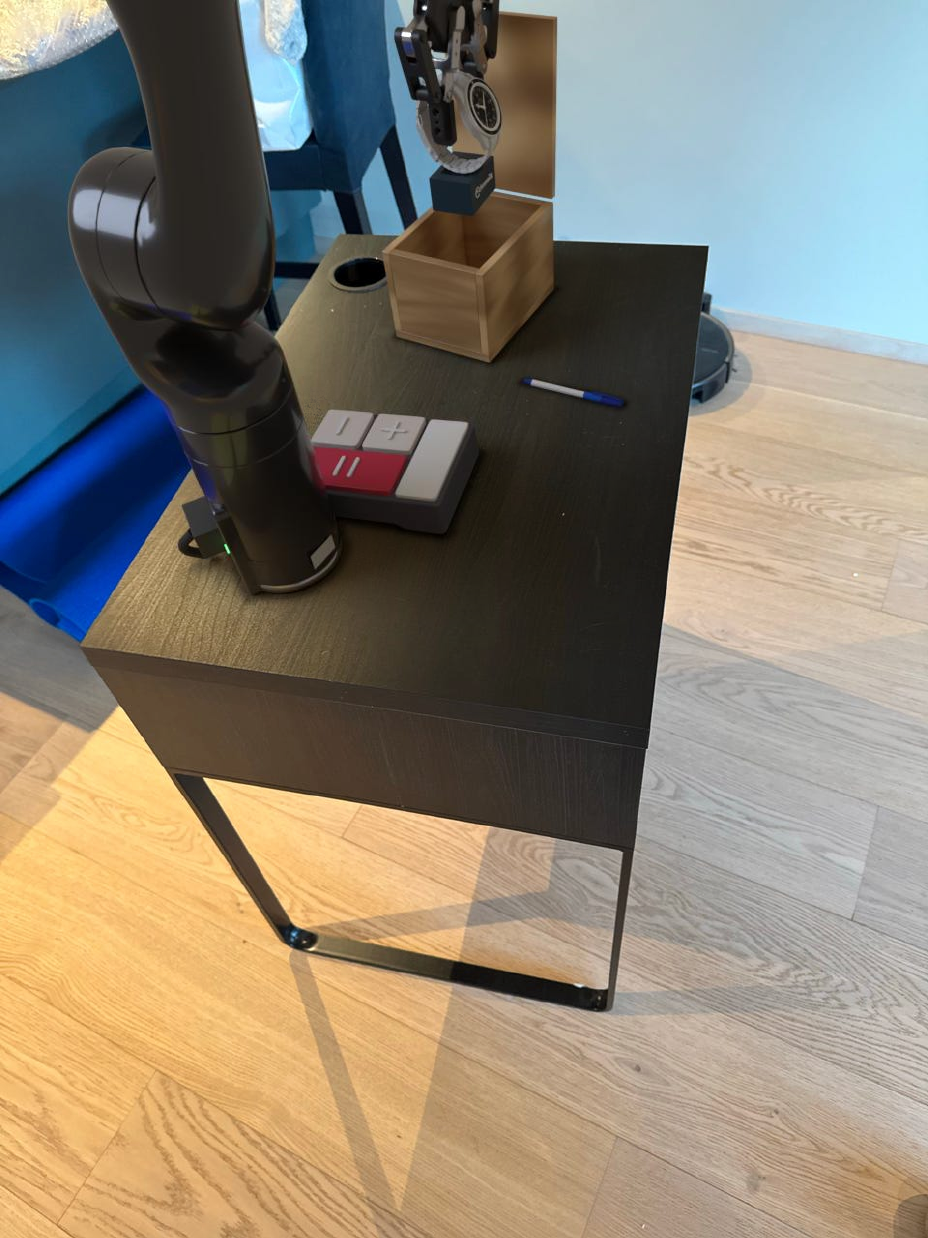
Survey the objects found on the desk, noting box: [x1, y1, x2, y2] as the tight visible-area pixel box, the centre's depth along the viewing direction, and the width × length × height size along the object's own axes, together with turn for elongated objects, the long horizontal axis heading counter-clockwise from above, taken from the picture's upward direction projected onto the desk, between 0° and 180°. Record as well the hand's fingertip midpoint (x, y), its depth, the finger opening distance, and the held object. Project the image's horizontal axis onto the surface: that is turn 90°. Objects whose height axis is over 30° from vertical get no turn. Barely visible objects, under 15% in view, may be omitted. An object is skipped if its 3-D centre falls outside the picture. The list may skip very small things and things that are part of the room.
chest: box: [381, 190, 555, 364], centre depth 90 cm, size 15×12×10 cm
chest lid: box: [444, 10, 558, 200], centre depth 84 cm, size 16×12×5 cm
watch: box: [414, 71, 502, 216], centre depth 79 cm, size 6×8×11 cm
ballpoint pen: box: [523, 378, 624, 408], centre depth 83 cm, size 10×1×1 cm, turn 64°
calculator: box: [310, 409, 480, 535], centre depth 77 cm, size 11×4×15 cm
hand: (460, 130), depth 78 cm, fingers closed on watch, 4 cm apart
